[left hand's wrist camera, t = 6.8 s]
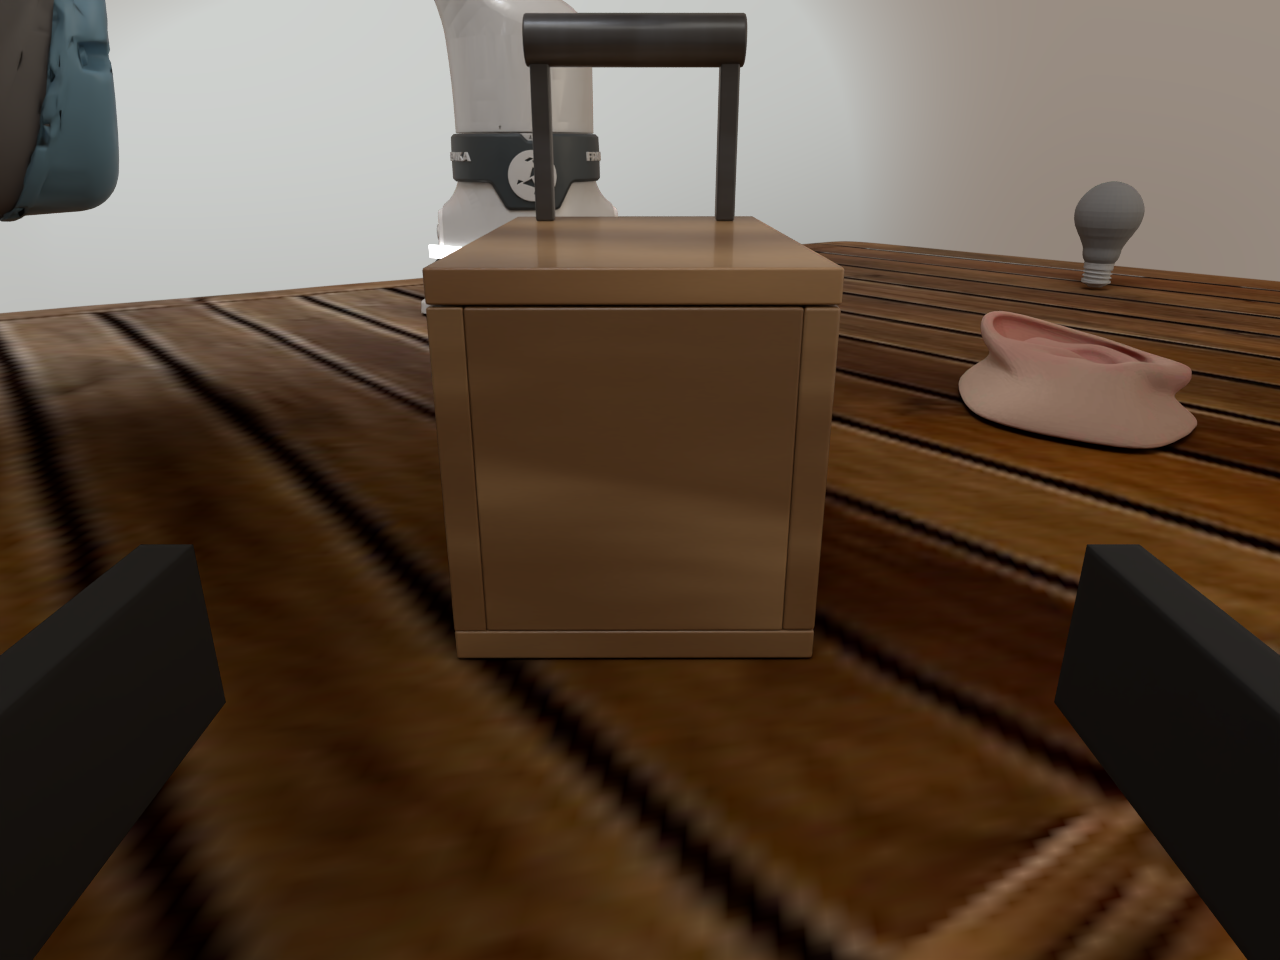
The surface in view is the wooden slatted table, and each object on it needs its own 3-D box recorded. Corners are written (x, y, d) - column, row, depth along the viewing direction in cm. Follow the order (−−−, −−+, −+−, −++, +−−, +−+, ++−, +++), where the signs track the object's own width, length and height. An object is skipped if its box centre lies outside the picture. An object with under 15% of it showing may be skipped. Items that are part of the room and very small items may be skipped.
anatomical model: (1238, 372, 36) (954, 349, 41) (1216, 460, 38) (944, 428, 42) (1190, 319, 48) (972, 305, 52) (1174, 388, 49) (963, 369, 53)
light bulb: (1073, 290, 83) (1093, 182, 80) (1053, 282, 89) (1071, 180, 85) (1138, 291, 83) (1161, 182, 79) (1114, 283, 88) (1134, 180, 85)
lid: (518, 238, 36) (507, 22, 33) (752, 237, 36) (762, 22, 33) (424, 305, 20) (389, -96, 17) (842, 305, 20) (875, -95, 17)
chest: (526, 463, 38) (515, 241, 35) (744, 463, 38) (755, 241, 35) (456, 659, 23) (425, 307, 20) (812, 658, 23) (842, 307, 20)
